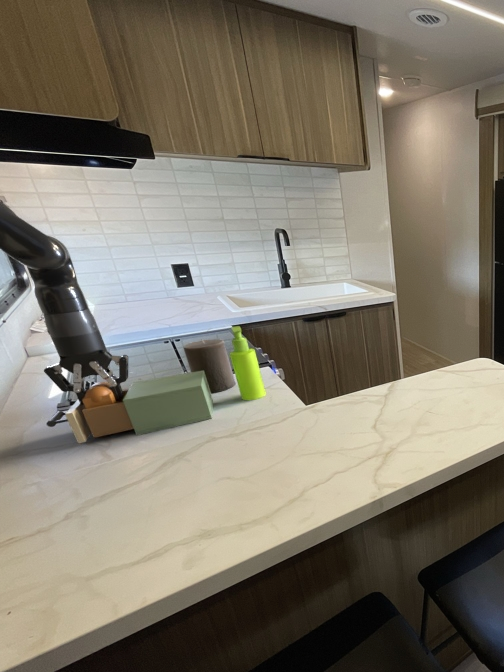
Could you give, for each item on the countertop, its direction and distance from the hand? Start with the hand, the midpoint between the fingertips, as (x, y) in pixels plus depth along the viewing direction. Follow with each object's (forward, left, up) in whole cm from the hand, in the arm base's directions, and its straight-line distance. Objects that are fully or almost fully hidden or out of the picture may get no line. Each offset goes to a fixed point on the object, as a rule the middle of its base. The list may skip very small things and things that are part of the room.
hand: (104, 402), depth 93 cm
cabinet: (+12, 0, -7) cm, 14 cm away
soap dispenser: (+29, +3, -7) cm, 30 cm away
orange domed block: (0, 0, 0) cm, 0 cm away
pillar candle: (+20, +18, -7) cm, 28 cm away
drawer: (0, 0, -6) cm, 6 cm away
